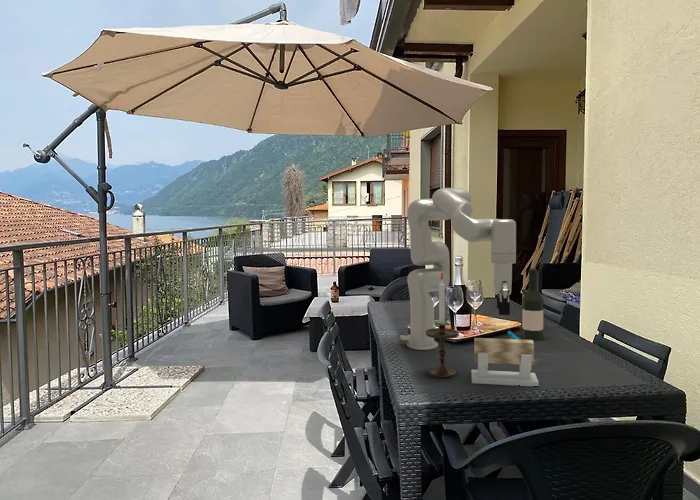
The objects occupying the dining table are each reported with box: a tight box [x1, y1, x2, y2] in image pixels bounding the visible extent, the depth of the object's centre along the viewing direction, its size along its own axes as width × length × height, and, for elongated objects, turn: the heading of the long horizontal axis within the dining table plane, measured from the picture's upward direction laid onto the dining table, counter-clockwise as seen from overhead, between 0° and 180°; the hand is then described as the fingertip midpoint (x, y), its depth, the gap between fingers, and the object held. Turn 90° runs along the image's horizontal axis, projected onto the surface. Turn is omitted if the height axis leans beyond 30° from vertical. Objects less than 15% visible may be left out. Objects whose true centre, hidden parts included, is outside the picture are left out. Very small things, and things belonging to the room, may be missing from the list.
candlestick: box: [426, 270, 460, 379], centre depth 165 cm, size 11×11×35 cm
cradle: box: [470, 353, 540, 387], centre depth 158 cm, size 20×9×10 cm, turn 77°
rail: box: [473, 337, 535, 366], centre depth 158 cm, size 18×4×7 cm, turn 76°
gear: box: [507, 330, 521, 340], centre depth 193 cm, size 11×6×10 cm
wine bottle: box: [521, 267, 544, 342], centre depth 209 cm, size 8×8×30 cm
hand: (503, 311), depth 158 cm, fingers open, 9 cm apart
